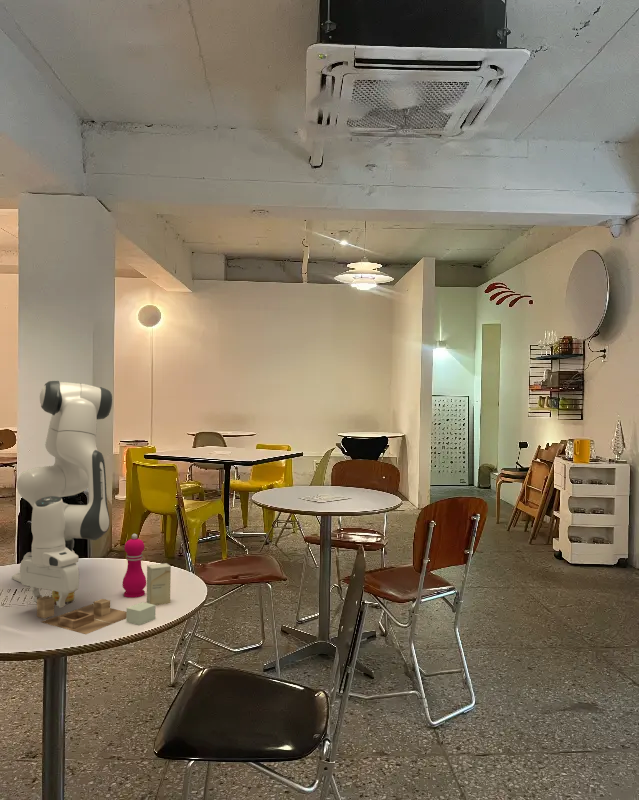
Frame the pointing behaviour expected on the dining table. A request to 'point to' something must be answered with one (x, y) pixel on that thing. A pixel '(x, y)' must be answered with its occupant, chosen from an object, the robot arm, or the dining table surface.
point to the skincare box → (158, 584)
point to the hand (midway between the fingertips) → (49, 604)
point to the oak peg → (45, 607)
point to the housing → (140, 613)
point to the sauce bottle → (70, 595)
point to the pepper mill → (134, 569)
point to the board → (88, 617)
